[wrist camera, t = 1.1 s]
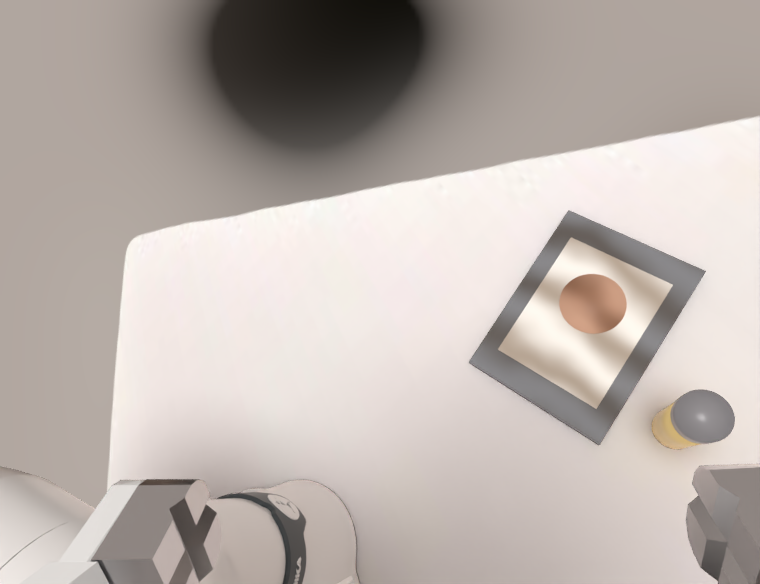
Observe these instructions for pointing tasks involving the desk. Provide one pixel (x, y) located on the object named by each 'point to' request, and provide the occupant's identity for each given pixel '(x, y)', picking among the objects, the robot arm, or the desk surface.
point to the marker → (694, 420)
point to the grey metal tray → (586, 323)
